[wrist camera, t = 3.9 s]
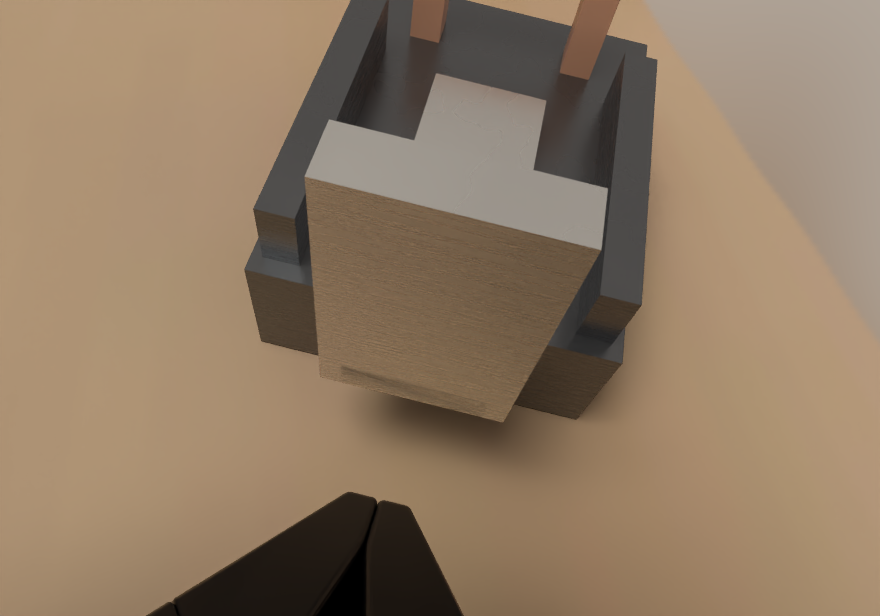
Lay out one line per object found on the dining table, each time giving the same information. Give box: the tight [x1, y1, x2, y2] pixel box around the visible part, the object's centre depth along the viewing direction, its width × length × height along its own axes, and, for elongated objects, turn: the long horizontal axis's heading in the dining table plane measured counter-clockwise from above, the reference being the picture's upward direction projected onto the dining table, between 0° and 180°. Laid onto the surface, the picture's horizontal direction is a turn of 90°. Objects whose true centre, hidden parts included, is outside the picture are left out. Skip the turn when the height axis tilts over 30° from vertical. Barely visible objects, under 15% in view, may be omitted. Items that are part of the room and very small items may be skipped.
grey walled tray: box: [244, 0, 657, 419], centre depth 21 cm, size 13×10×6 cm
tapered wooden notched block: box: [304, 73, 608, 422], centre depth 15 cm, size 10×4×7 cm, turn 168°
